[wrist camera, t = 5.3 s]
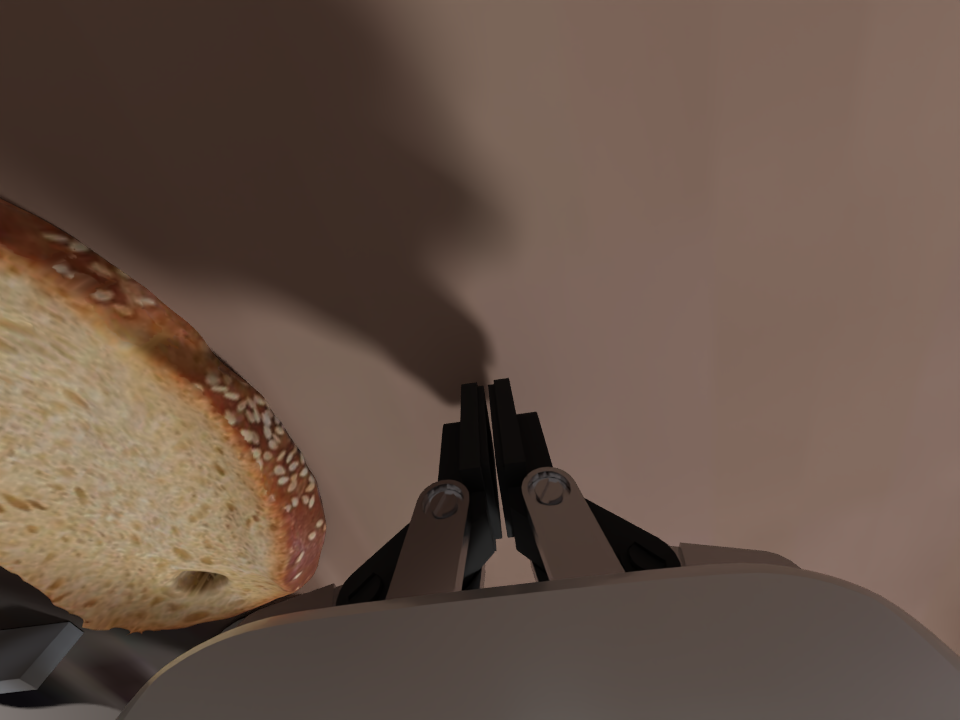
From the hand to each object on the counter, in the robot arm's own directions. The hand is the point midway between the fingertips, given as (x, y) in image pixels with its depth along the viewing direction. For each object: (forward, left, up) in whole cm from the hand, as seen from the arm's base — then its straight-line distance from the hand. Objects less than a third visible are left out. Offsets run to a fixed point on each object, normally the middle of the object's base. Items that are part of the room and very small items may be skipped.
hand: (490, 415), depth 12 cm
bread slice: (+15, 0, -2) cm, 15 cm away
